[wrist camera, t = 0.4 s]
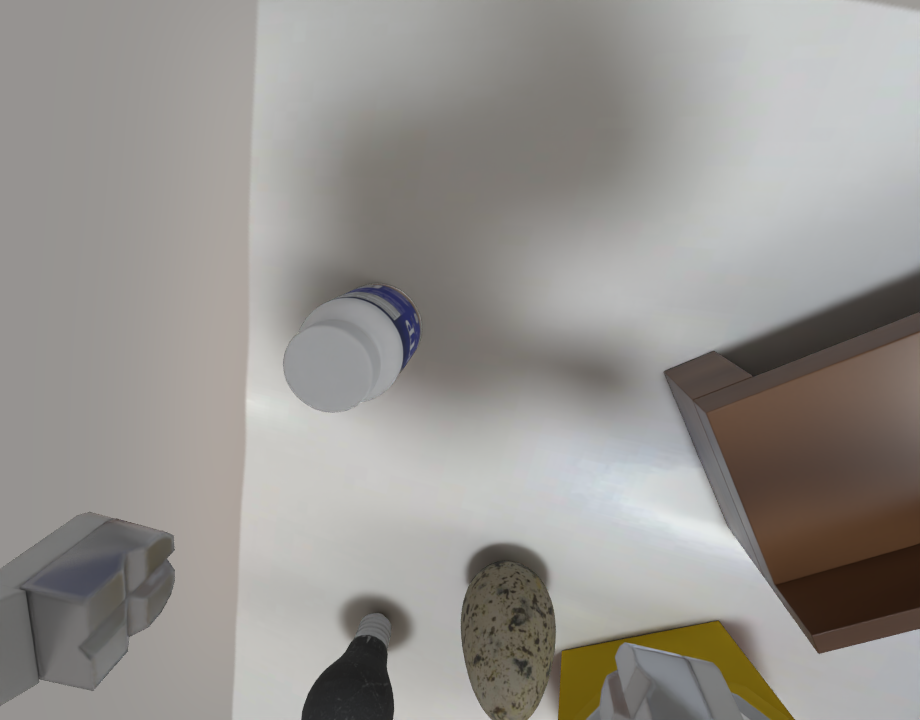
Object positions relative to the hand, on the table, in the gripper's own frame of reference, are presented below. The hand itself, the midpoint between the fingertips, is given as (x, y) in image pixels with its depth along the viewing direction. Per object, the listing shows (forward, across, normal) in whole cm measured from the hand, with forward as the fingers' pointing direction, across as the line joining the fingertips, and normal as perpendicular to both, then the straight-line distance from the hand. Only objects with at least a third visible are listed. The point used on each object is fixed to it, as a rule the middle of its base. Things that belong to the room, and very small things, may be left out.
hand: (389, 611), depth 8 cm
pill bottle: (+20, +6, +1) cm, 21 cm away
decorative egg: (+20, -6, +17) cm, 27 cm away
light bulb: (+20, +2, +24) cm, 31 cm away
